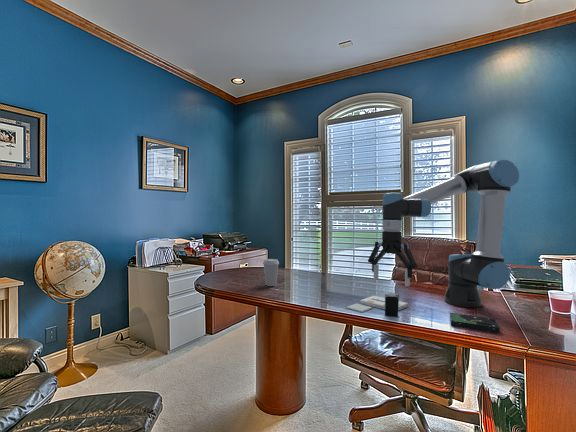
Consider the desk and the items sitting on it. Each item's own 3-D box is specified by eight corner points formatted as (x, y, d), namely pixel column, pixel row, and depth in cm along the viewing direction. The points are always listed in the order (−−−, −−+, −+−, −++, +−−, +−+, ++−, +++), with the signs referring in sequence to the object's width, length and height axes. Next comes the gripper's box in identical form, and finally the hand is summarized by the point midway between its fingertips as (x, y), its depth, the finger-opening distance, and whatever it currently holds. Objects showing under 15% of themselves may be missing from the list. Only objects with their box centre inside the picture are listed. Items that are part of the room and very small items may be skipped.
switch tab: (398, 303, 132) (398, 294, 132) (393, 305, 128) (393, 296, 128) (390, 301, 135) (390, 292, 135) (384, 303, 131) (384, 294, 131)
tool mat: (372, 308, 128) (372, 307, 128) (362, 312, 123) (362, 311, 123) (356, 304, 134) (356, 303, 134) (346, 308, 129) (346, 306, 129)
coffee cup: (264, 283, 176) (264, 258, 176) (280, 284, 175) (280, 259, 175) (261, 287, 167) (261, 260, 167) (277, 287, 165) (277, 261, 166)
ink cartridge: (397, 315, 120) (397, 295, 120) (398, 317, 118) (398, 297, 118) (384, 313, 122) (385, 294, 122) (385, 315, 119) (385, 296, 119)
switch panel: (407, 306, 132) (407, 302, 132) (395, 312, 124) (395, 308, 124) (373, 298, 145) (373, 295, 145) (360, 303, 136) (360, 300, 136)
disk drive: (494, 326, 110) (449, 319, 117) (494, 318, 110) (449, 312, 117) (499, 335, 101) (450, 327, 108) (500, 327, 101) (451, 320, 108)
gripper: (360, 229, 127) (359, 278, 126) (418, 232, 108) (417, 290, 108) (369, 229, 132) (368, 276, 132) (426, 232, 114) (426, 287, 113)
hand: (391, 282), depth 120 cm, fingers open, 13 cm apart
